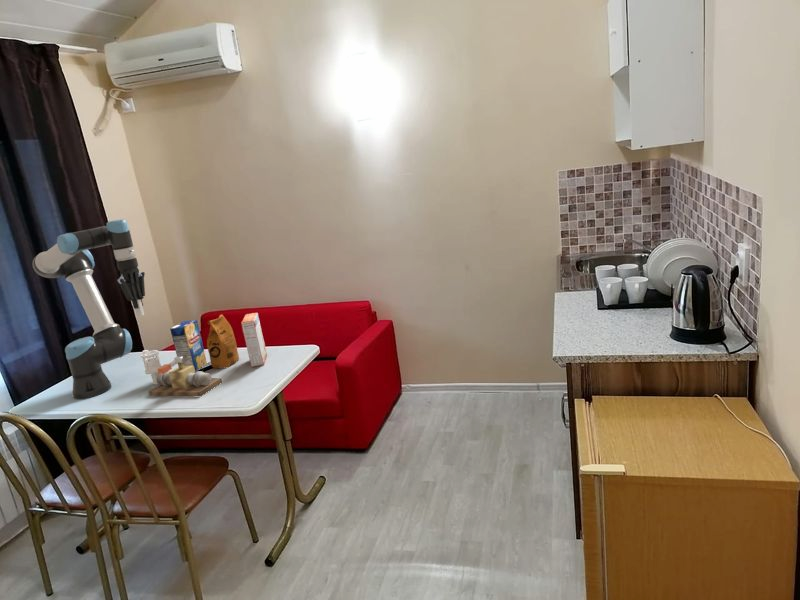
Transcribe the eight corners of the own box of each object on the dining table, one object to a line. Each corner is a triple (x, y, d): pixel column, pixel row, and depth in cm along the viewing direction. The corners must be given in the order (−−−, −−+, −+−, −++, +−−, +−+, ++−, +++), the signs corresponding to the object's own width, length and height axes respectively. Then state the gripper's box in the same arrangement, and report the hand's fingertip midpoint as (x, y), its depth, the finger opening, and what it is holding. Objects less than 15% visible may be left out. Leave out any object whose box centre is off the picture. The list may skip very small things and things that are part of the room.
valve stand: (149, 395, 243) (142, 369, 240) (173, 382, 256) (166, 356, 253) (200, 396, 234) (193, 369, 231) (222, 382, 246) (216, 356, 243)
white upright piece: (157, 379, 263) (149, 347, 259) (169, 380, 259) (161, 347, 256) (145, 385, 257) (136, 353, 253) (156, 386, 253) (147, 353, 250)
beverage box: (181, 376, 263) (170, 328, 257) (194, 366, 273) (183, 321, 268) (195, 374, 261) (184, 327, 256) (207, 365, 272) (196, 319, 266)
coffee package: (208, 369, 266) (197, 322, 261) (224, 359, 278) (214, 314, 272) (227, 369, 263) (216, 321, 258) (242, 358, 274) (232, 313, 269)
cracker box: (254, 357, 273) (245, 314, 268) (267, 355, 274) (258, 311, 269) (250, 367, 260) (240, 322, 255) (264, 365, 260) (254, 319, 255)
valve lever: (178, 360, 244) (177, 356, 243) (185, 360, 243) (184, 355, 242) (157, 373, 230) (156, 369, 230) (165, 373, 230) (163, 368, 229)
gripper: (120, 261, 229) (135, 319, 235) (145, 254, 241) (159, 310, 247) (106, 263, 232) (121, 320, 238) (131, 256, 244) (145, 311, 249)
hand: (140, 315), depth 242 cm, fingers closed
